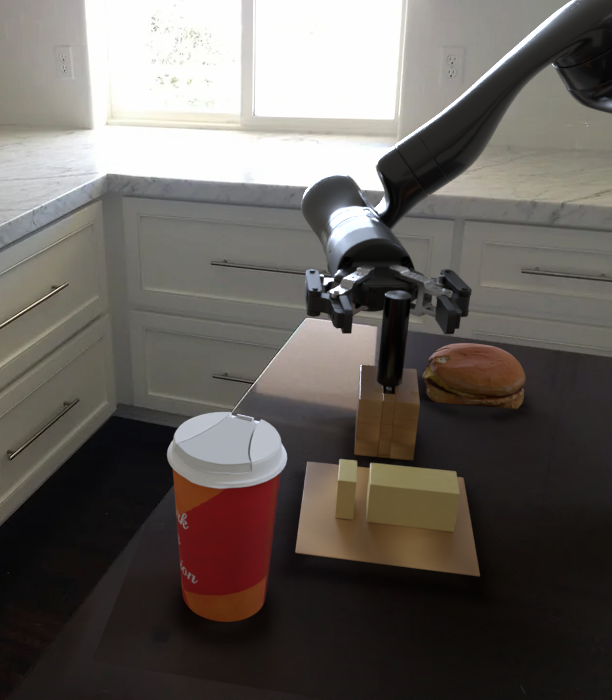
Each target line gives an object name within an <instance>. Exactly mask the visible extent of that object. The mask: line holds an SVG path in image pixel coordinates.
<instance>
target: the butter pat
mask: <svg viewBox="0 0 612 700" xmlns="http://www.w3.org/2000/svg"><path fill="white" fill-rule="evenodd" d="M338 465H339V471H338V483H337V495H336V510H335V518H342V519H350V520H353V517H354V506H355V495H356V485H357V467H358V460H355V459H344V458H340V459H339V460H338Z"/></svg>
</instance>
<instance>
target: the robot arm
mask: <svg viewBox="0 0 612 700" xmlns="http://www.w3.org/2000/svg"><path fill="white" fill-rule="evenodd" d="M551 65H552V66H553V68H554V70H555V72H556V73H557V75H558V76H559V78H560V80H561V82H562V83H563V85H564V88H565V89H566V91H567V93H568V94H569V95H570V97H571V98H572V99H573V100H574V101H576V103H578V104H580V105H582V106H583V107H586V108H589V109H591V110H594V111H599V112H602V113H607V114H611V115H612V0H570V1H569V2H567V3H566V4H563V6H561V7H560V8H559V9H557V10H556V11H555V12H554V13H552V14H551V15H550V16H549V17H548V18H546V19H545V20H544V21H543V22H542V23H541V24H540V25H538V26H537V27H536V28H535V29H534V30H533V31H531V32H530V33H529V34H528V35H527V36H526V37H524V39H522V41H520V42H519V43H518V44H517V45H515V47H513V48H512V49H511V50H510V51H509V52H507V53H506V54H505V55H504V56H503V57H502V58H501V59H500V60H499V61H498V62H497V63H495V65H493V66H492V67H491V68H490V69H488V71H487V72H486V73H485V74H483V75H482V76H481V77H480V78H479V79H478V80H477V81H476V82H475V83H474V84H472V86H470V88H468V89H467V90H466V91H465V92H464V93H463V94H461V96H459V97H458V98H457V99H456V100H455V101H454V102H452V103H451V104H450V105H448V106H447V107H446V108H445V109H443V110H442V111H441V112H440V113H438V114H437V115H435V116H434V117H433V118H431V119H430V120H429V121H427V122H426V123H424V124H422V126H420V127H419V128H417V129H415V131H413V132H412V133H410V134H408V135H407V136H406V137H404V138H403V139H401V140H400V141H398V142H397V143H396V144H395V145H393V146H391V147H390V148H388V149H387V150H385V151H384V152H383V153H382V154H381V155H379V156H378V157H377V159H376V161H375V170H376V174H377V176H378V179H379V180H380V183H381V185H382V187H383V191H384V192H383V193H384V194H383V197H382V199H381V201H380V203H379V204H378V205H376V207H374V206H373V204H372V203H371V201H370V200H369V199H368V197H367V195H365V193H364V192H363V190H362V189H361V187H360V186H359V184H358V183H357V182H356V181H355V179H353V178H352V177H351V175H348V174H346V173H342V172H333V173H328V174H327V173H326V174H324V175H323V176H320V177H318V178H317V179H315V180H314V181H313V182H312V183H311V184H310V185H309V186H308V188H307V189H306V190H305V191H304V193H303V196H302V199H301V202H300V203H301V204H300V209H301V214H302V216H303V218H304V220H305V221H306V223H307V224H308V226H309V227H310V228H311V230H312V231H313V233H314V234H315V235H316V237H317V238H318V240H319V242H320V244H321V245H322V248H323V252H324V256H325V259H326V267H327V271H328V273H329V275H330V276H331V277H325V275H324V274H320V271H319V270H317V269H313V268H311V269H310V268H309V269H307V270H305V280H304V281H305V282H304V301H305V309H306V310H305V311H306V315H307V316H309V317H311V318H312V317H313V318H316V317H320V316H321V314H326V315H327V318H328V319H330V320H331V323H332V327H334V328H335V329H340V331H341V334H344V335H345V334H347V335H349V334H352V332H353V331H352V330H353V322H354V321H353V319H354V316H356V315H357V314H358V313H360V312H368V313H374V312H375V313H376V312H383V307H384V297H385V293H386V292H388V291H404V292H407V293H409V294H411V296H412V297H411V306H410V315H413V316H415V317H418V318H419V317H421V316H425V315H427V316H430V317H432V318H434V320H435V322H436V323H437V325H438V327H440V329H441V331H442V333H443V334H444V335H454V334H455V332H456V331H455V330H459V329H460V326H461V319H462V318H466V317H468V316H469V312H470V310H469V309H470V301H471V296H472V291H473V289H472V288H471V287H470V285H468V284H467V283H466V282H465V281H464V280H463V279H462V278H461V277H460V276H459V275H458V274H457V273H456V272H455V271H454V270H453V269H449V268H444V269H440V273H439V275H438V276H437V277H428V276H425V275H424V273H422V272H420V271H417V270H416V268H415V265H414V263H413V260H412V258H411V255H410V254H409V253H408V250H406V248H405V247H404V245H403V244H402V242H401V241H400V239H399V238H398V237H397V235H396V234H395V232H394V231H393V229H394V228H395V227H396V226H397V225H398V224H399V222H401V221H402V220H403V219H404V217H405V216H407V215H408V214H409V213H410V212H411V211H412V210H413V209H414V208H415V207H416V206H418V204H419V203H421V202H422V201H424V200H425V199H426V198H428V197H429V196H432V195H433V194H434V193H436V192H437V191H438V190H439V191H440V189H442V188H443V187H445V186H447V185H448V184H449V183H450V182H453V181H454V180H455V179H457V178H458V177H460V176H461V175H463V174H464V173H465V172H466V171H467V170H468V169H470V168H471V167H472V166H473V164H474V163H475V162H476V161H477V160H479V158H480V156H481V155H482V154H483V152H484V151H485V149H486V148H487V147H488V144H489V143H490V141H491V139H492V138H493V136H494V134H495V132H496V131H497V129H498V127H499V126H500V123H501V122H502V121H503V118H504V116H505V115H506V113H507V111H508V110H509V108H510V107H511V106H512V104H513V103H514V102H515V100H516V98H517V97H518V95H519V94H520V93H521V92H522V90H523V89H524V88H525V87H526V85H528V84H529V83H530V82H531V81H532V80H534V78H535V77H537V75H539V74H540V73H541V72H542V71H544V70H545V69H547V68H548V67H549V66H551ZM328 292H329V293H328ZM433 297H436V303H435V305H436V306H435V305H433V304H432V301H433ZM414 301H415V303H413V302H414Z"/></svg>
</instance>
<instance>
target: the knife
mask: <svg viewBox="0 0 612 700" xmlns="http://www.w3.org/2000/svg"><path fill="white" fill-rule="evenodd" d="M411 297H412V296H411V294H409V293H407V292H404V291H388V292H386V293H385V297H384V307H383V310H382V317H381V318H382V319H381V327H380V328H381V329H380V339H379V349H378V358H377V366H378V368H377V378H376V380H377V382H378V383H379V384H381V385H384V386H385V394H391V391H392V387H395V386H399V385H400V384H401V383H402V378H403V369H404V368H405V360H406V350H407V341H408V333H409V323H410V316H411V314H410V306H411V303H412V302H411Z"/></svg>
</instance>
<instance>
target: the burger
mask: <svg viewBox="0 0 612 700" xmlns="http://www.w3.org/2000/svg"><path fill="white" fill-rule="evenodd" d="M427 363H428V364H427V365H426V368H425V371H424V372H422V377H421V378H422V379H423V381H424V383H425V385H426V386H425V391H426V395H427V396H428V398H429V399H430V400H431V401H432V402H434V403H440V404H451V405H463V406H475V407H486V408H496V409H497V408H498V409H508V410H517V409H519V408H520V407H521V405H522V404H523V402H524V397H525V389H524V388H523V387H524V386H525V383H526V380H527V378H526V377H527V376H526V373H525V370H524V369H523V366H522V365H521V362H519V361H518V360H517V359H516V357H515V356H513V355H512V354H511V353H510V352H508V351H506V350H504V349H502V348H500V347H496V346H493V345H487V344H481V343H471V342H470V343H469V342H467V343H466V342H463V343H462V342H461V343H450V344H447V345H444V346H441V347H440V348H438V349H437V350H435V351H434V352H433V353H432V355H431V356H430V357H429V358H428V360H427Z"/></svg>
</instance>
